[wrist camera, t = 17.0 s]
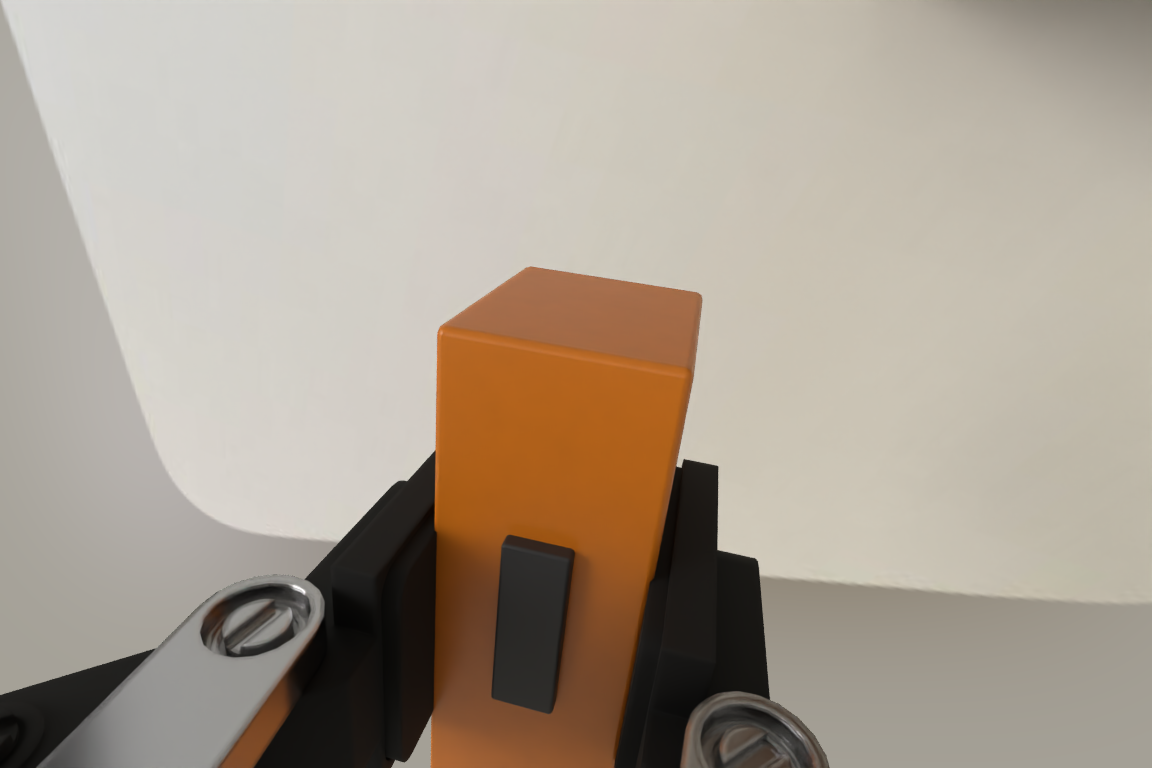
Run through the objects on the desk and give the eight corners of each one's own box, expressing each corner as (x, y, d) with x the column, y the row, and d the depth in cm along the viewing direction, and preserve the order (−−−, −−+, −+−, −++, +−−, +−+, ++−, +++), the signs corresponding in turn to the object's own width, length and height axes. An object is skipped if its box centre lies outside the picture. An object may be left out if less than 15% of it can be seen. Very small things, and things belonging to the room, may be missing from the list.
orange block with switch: (526, 264, 9) (425, 331, 6) (703, 292, 9) (693, 379, 6) (495, 685, 12) (421, 865, 9) (622, 719, 12) (587, 919, 9)
